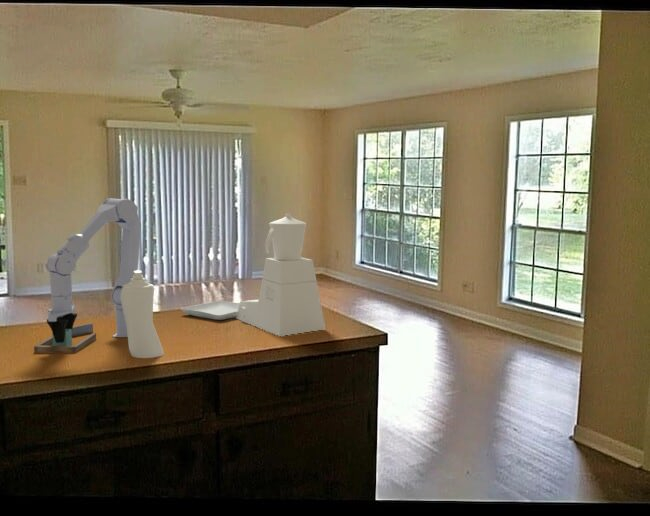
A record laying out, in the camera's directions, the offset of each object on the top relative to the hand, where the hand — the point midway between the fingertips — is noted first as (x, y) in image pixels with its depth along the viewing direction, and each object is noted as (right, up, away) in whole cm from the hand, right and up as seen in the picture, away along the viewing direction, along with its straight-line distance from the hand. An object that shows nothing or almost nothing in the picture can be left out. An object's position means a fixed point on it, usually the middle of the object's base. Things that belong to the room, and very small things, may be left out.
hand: (63, 340), depth 187 cm
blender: (+61, 0, +34) cm, 70 cm away
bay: (0, -3, +3) cm, 4 cm away
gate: (-3, -1, +16) cm, 16 cm away
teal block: (0, -3, 0) cm, 3 cm away
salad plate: (+38, +2, +51) cm, 64 cm away
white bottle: (+26, -4, -7) cm, 27 cm away
